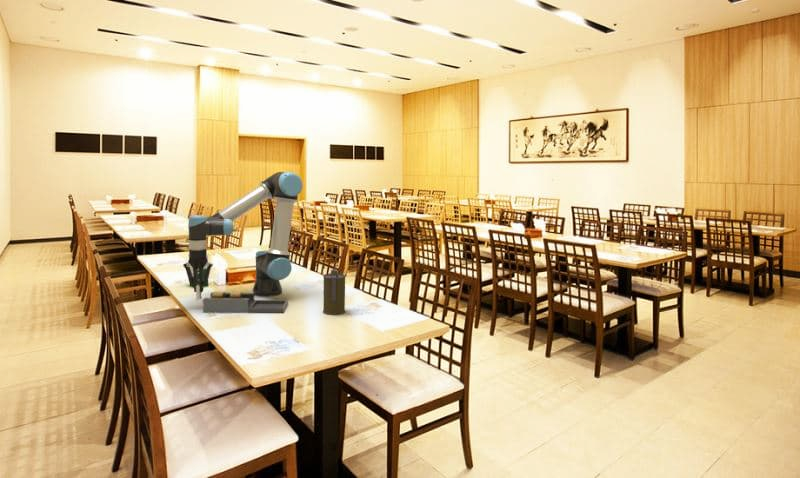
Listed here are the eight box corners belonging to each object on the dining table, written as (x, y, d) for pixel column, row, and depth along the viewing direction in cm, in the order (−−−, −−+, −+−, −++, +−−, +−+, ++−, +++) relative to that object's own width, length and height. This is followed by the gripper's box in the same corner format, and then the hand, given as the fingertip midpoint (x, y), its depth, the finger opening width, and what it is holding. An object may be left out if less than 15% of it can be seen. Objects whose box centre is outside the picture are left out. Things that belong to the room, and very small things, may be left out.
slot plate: (254, 304, 244) (254, 292, 243) (248, 312, 230) (248, 299, 229) (212, 304, 242) (212, 292, 241) (203, 312, 228) (203, 299, 227)
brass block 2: (242, 301, 238) (242, 291, 237) (240, 303, 234) (239, 294, 233) (232, 300, 238) (232, 291, 237) (230, 303, 233) (230, 294, 233)
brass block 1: (225, 300, 237) (224, 291, 237) (222, 303, 233) (222, 293, 232) (215, 300, 237) (215, 291, 236) (212, 303, 233) (212, 293, 232)
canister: (323, 308, 240) (323, 267, 237) (345, 308, 241) (346, 268, 238) (322, 315, 229) (322, 272, 226) (344, 315, 230) (345, 272, 227)
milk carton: (196, 288, 272) (195, 252, 269) (187, 286, 277) (186, 250, 274) (211, 286, 279) (210, 250, 276) (201, 283, 284) (200, 248, 281)
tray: (288, 304, 245) (288, 300, 245) (283, 313, 230) (283, 308, 230) (254, 304, 244) (254, 299, 244) (247, 312, 229) (247, 308, 229)
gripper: (214, 247, 235) (215, 296, 238) (186, 247, 234) (187, 296, 237) (209, 250, 228) (210, 300, 231) (180, 249, 227) (181, 300, 230)
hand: (198, 298), depth 234 cm, fingers closed
